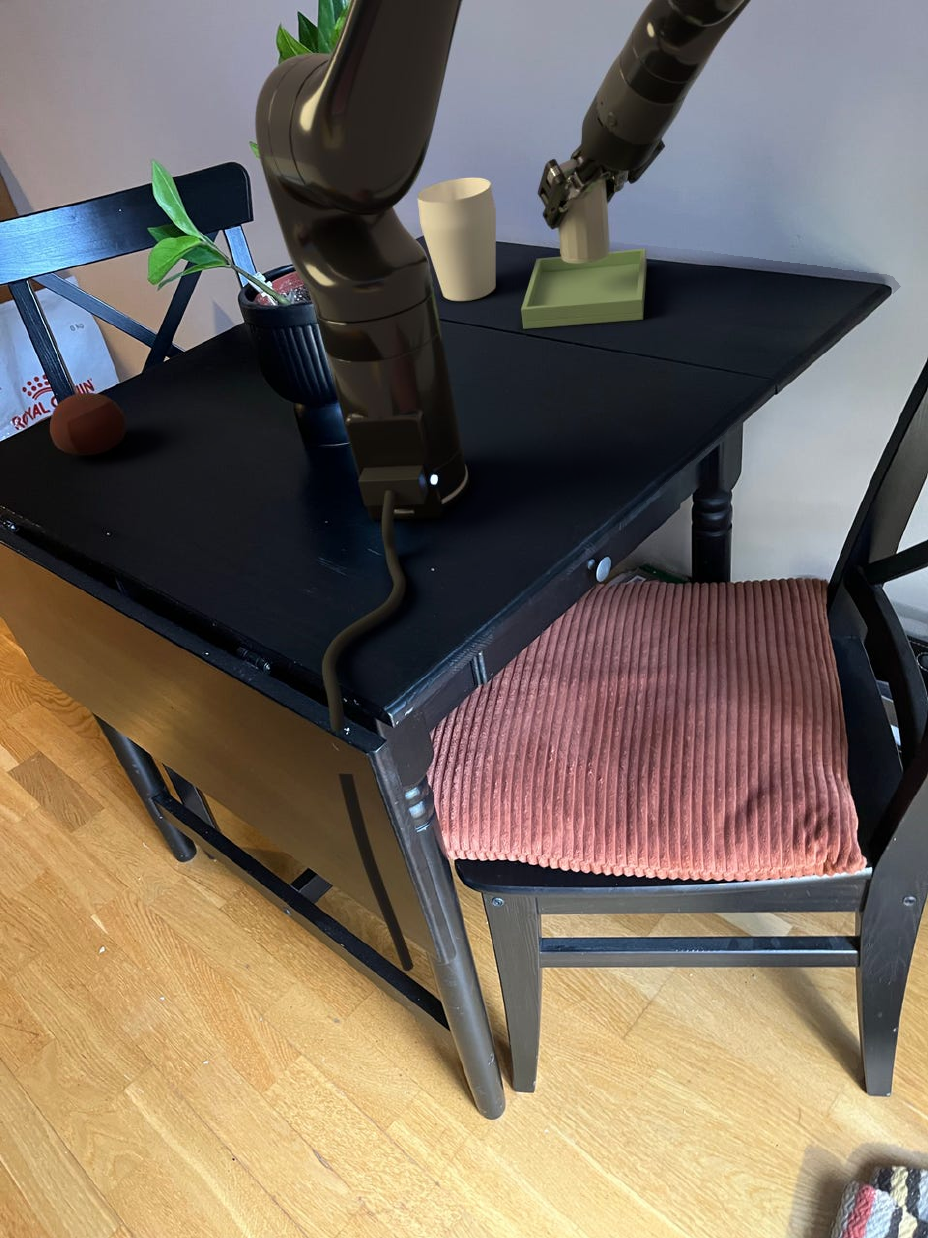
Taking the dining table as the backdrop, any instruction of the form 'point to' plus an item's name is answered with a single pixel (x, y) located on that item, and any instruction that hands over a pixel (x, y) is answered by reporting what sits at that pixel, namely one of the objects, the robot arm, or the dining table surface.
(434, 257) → the cup
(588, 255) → the tumbler
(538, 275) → the tray
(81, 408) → the potato
